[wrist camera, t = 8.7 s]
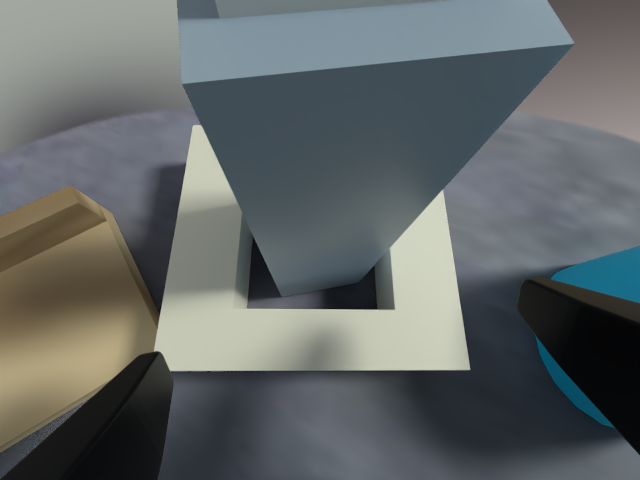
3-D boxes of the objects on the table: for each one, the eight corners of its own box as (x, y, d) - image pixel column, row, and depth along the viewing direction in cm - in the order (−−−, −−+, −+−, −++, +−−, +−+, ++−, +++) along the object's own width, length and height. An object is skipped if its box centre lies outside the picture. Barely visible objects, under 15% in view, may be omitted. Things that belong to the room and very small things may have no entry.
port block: (437, 364, 14) (479, 371, 11) (182, 365, 14) (141, 372, 10) (413, 167, 18) (439, 125, 14) (211, 160, 17) (188, 116, 14)
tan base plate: (174, 346, 14) (141, 347, 11) (-11, 459, 12) (-106, 494, 9) (111, 213, 16) (70, 185, 13) (-56, 293, 14) (-145, 281, 11)
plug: (358, 282, 15) (692, -88, 2) (281, 297, 15) (115, -60, 2) (341, 213, 17) (489, -289, 3) (270, 224, 16) (125, -302, 3)
